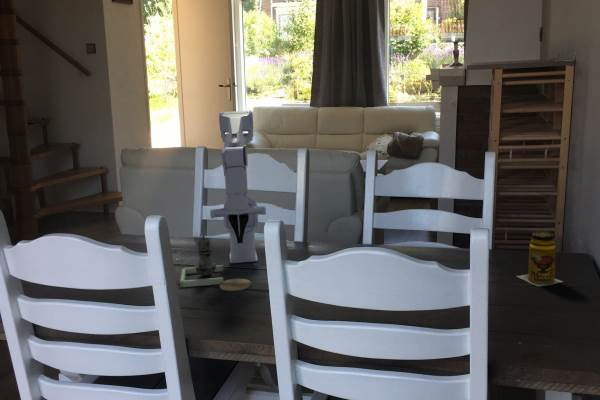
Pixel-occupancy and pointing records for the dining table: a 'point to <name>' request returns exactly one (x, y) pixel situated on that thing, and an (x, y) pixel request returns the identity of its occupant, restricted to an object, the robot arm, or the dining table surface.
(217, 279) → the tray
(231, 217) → the robot arm
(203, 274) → the salt shaker
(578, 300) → the dining table surface
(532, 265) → the condiment
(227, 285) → the cork coaster
